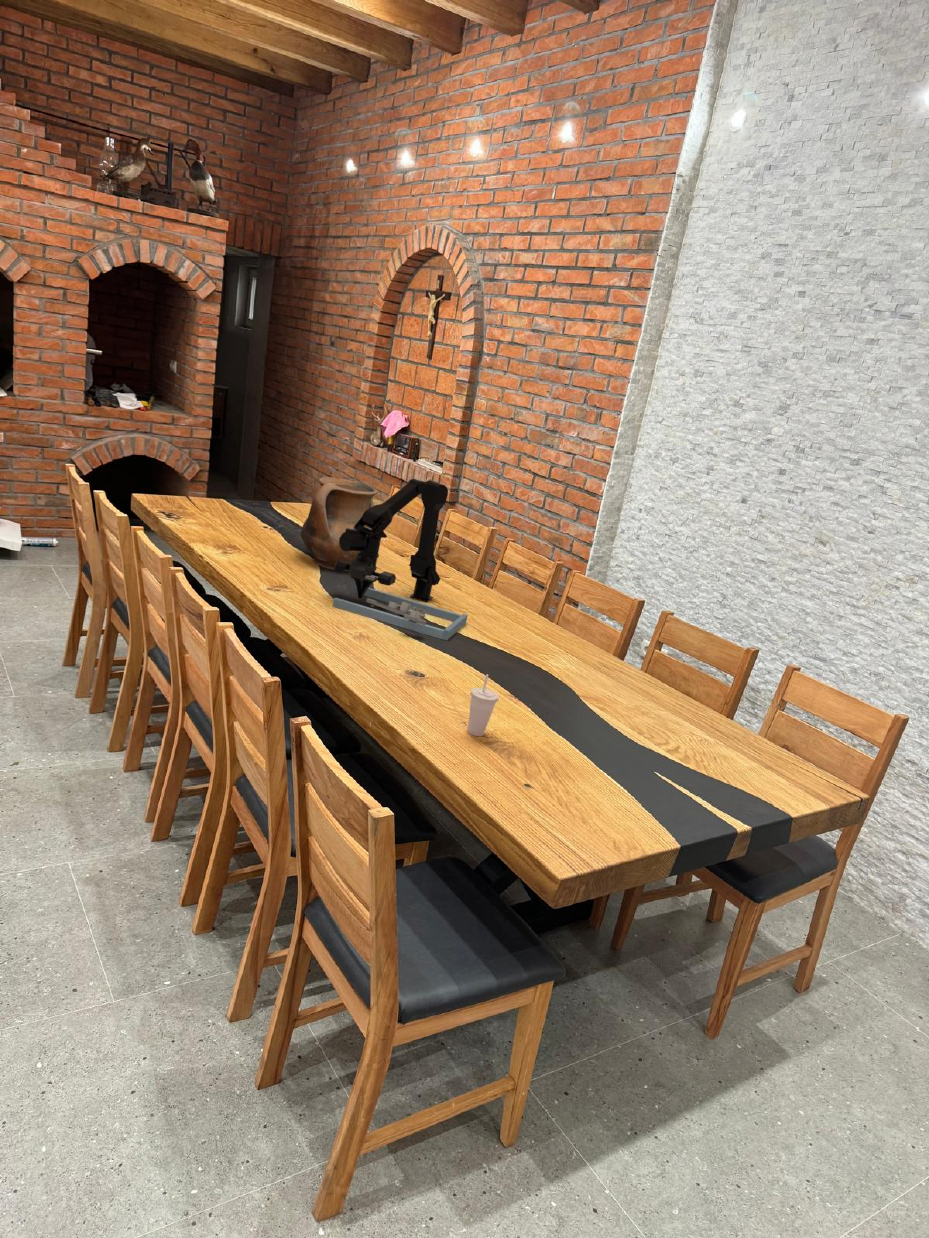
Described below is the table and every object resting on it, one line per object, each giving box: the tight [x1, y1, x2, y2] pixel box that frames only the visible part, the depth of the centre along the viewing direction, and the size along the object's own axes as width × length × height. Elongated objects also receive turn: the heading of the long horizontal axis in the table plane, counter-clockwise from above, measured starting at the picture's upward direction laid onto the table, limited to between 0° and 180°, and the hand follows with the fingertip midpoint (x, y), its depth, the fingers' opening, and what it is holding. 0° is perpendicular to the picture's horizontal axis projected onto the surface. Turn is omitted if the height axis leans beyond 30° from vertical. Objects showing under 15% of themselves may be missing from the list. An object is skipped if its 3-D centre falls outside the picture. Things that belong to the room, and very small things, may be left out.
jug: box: [300, 476, 378, 572], centre depth 290 cm, size 32×28×30 cm
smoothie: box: [467, 673, 500, 737], centre depth 183 cm, size 6×6×14 cm
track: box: [332, 587, 469, 642], centre depth 254 cm, size 21×37×3 cm, turn 74°
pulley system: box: [365, 597, 427, 625], centre depth 247 cm, size 27×5×15 cm
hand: (360, 598), depth 256 cm, fingers closed
